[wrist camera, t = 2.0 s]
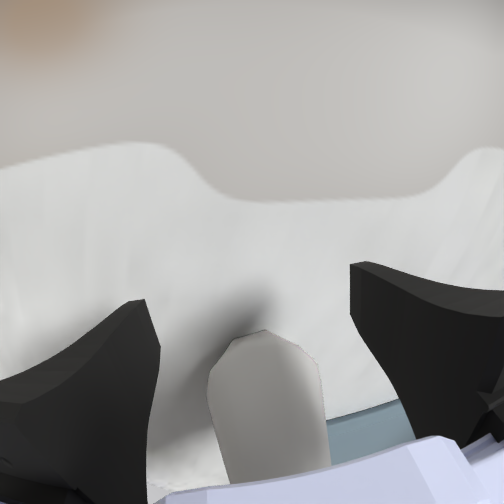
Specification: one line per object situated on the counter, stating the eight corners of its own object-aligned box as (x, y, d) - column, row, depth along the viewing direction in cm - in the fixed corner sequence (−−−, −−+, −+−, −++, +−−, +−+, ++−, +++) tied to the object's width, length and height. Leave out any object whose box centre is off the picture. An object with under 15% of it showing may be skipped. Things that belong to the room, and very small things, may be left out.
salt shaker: (295, 396, 19) (351, 586, 6) (203, 393, 18) (208, 604, 6) (320, 320, 17) (432, 544, 5) (212, 311, 16) (222, 590, 4)
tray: (462, 372, 20) (471, 383, 19) (425, 459, 25) (431, 468, 24) (299, 426, 20) (304, 442, 18) (304, 499, 25) (307, 510, 23)
